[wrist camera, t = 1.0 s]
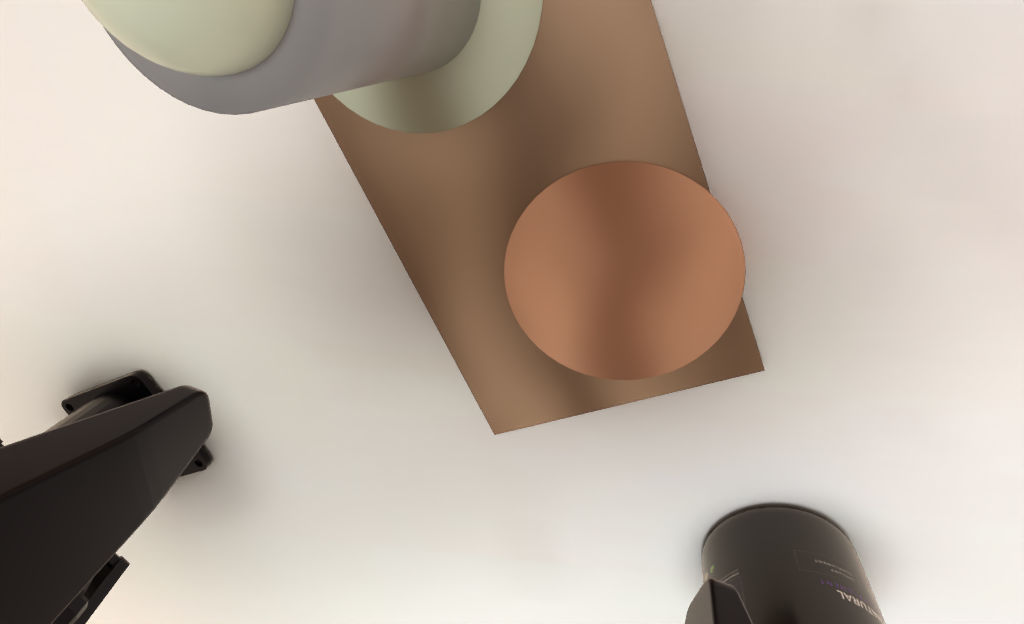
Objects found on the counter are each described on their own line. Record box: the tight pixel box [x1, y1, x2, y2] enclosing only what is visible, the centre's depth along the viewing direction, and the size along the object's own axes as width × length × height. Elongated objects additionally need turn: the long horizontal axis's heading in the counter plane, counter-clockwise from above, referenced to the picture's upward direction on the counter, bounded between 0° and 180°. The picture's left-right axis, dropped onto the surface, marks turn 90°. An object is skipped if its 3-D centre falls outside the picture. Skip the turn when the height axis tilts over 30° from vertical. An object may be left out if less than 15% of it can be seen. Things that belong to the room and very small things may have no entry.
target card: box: [314, 0, 764, 435], centre depth 20 cm, size 12×22×1 cm, turn 24°
